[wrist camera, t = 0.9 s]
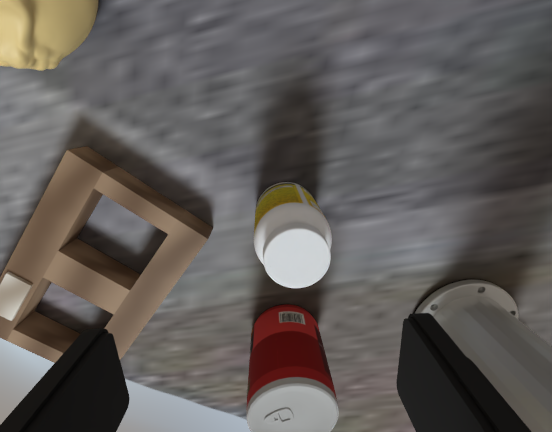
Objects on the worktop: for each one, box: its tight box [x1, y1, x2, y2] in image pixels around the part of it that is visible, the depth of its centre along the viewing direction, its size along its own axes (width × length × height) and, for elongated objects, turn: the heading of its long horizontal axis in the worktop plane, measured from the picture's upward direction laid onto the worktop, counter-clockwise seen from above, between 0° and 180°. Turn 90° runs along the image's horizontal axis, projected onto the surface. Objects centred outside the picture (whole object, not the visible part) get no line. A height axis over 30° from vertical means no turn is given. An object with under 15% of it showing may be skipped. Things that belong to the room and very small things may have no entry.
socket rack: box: [0, 146, 213, 363], centre depth 30 cm, size 14×22×3 cm, turn 143°
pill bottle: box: [254, 182, 332, 288], centre depth 25 cm, size 6×6×11 cm
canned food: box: [247, 304, 339, 432], centre depth 30 cm, size 8×8×11 cm
